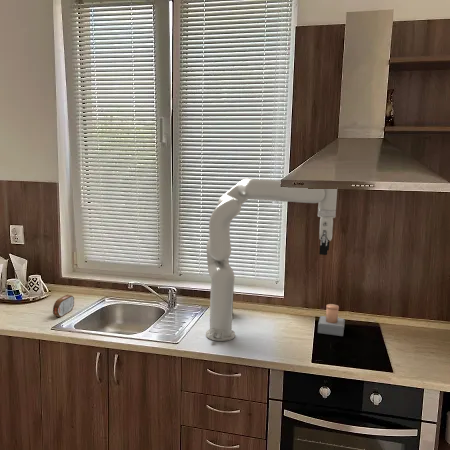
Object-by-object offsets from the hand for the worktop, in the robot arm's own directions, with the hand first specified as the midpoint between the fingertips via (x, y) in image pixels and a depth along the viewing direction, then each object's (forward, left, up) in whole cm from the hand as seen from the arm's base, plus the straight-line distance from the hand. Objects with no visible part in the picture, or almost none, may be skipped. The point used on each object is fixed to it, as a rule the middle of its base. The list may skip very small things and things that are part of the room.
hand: (324, 252), depth 197 cm
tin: (-21, +117, -37) cm, 125 cm away
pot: (+4, -5, -32) cm, 33 cm away
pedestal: (+4, -5, -36) cm, 37 cm away
